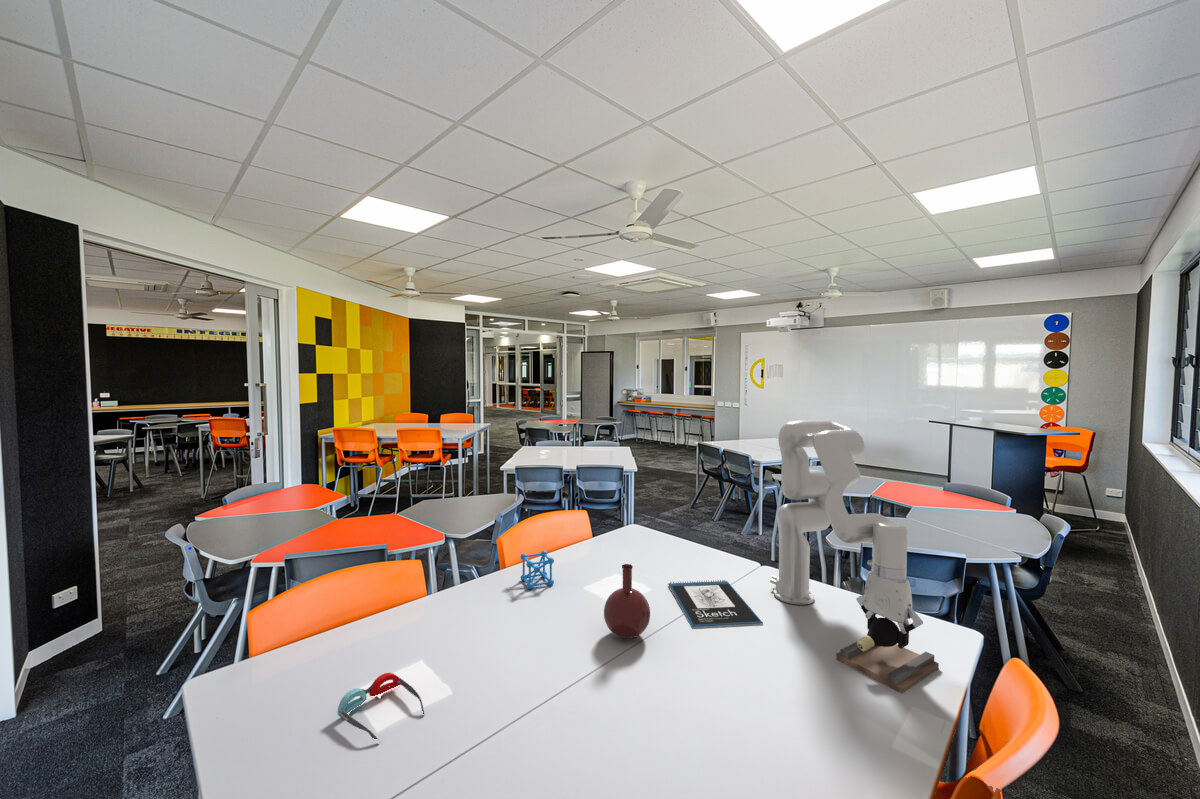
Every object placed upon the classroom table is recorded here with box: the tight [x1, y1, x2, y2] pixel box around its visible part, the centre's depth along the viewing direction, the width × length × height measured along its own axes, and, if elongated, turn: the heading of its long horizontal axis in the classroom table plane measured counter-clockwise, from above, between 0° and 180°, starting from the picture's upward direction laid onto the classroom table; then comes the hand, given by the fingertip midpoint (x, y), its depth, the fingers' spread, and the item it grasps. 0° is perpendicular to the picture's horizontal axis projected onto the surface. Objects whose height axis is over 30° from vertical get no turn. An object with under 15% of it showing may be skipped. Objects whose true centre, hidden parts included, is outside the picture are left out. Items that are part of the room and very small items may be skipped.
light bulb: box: [856, 617, 901, 651], centre depth 121 cm, size 7×7×12 cm
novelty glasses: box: [337, 672, 425, 740], centre depth 103 cm, size 14×15×5 cm
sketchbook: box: [667, 579, 764, 629], centre depth 156 cm, size 22×30×2 cm
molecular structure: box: [519, 550, 555, 590], centre depth 171 cm, size 10×10×10 cm
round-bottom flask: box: [603, 563, 651, 640], centre depth 136 cm, size 13×13×20 cm
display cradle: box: [835, 641, 940, 693], centre depth 123 cm, size 16×18×3 cm
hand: (887, 639), depth 123 cm, fingers closed on light bulb, 6 cm apart
